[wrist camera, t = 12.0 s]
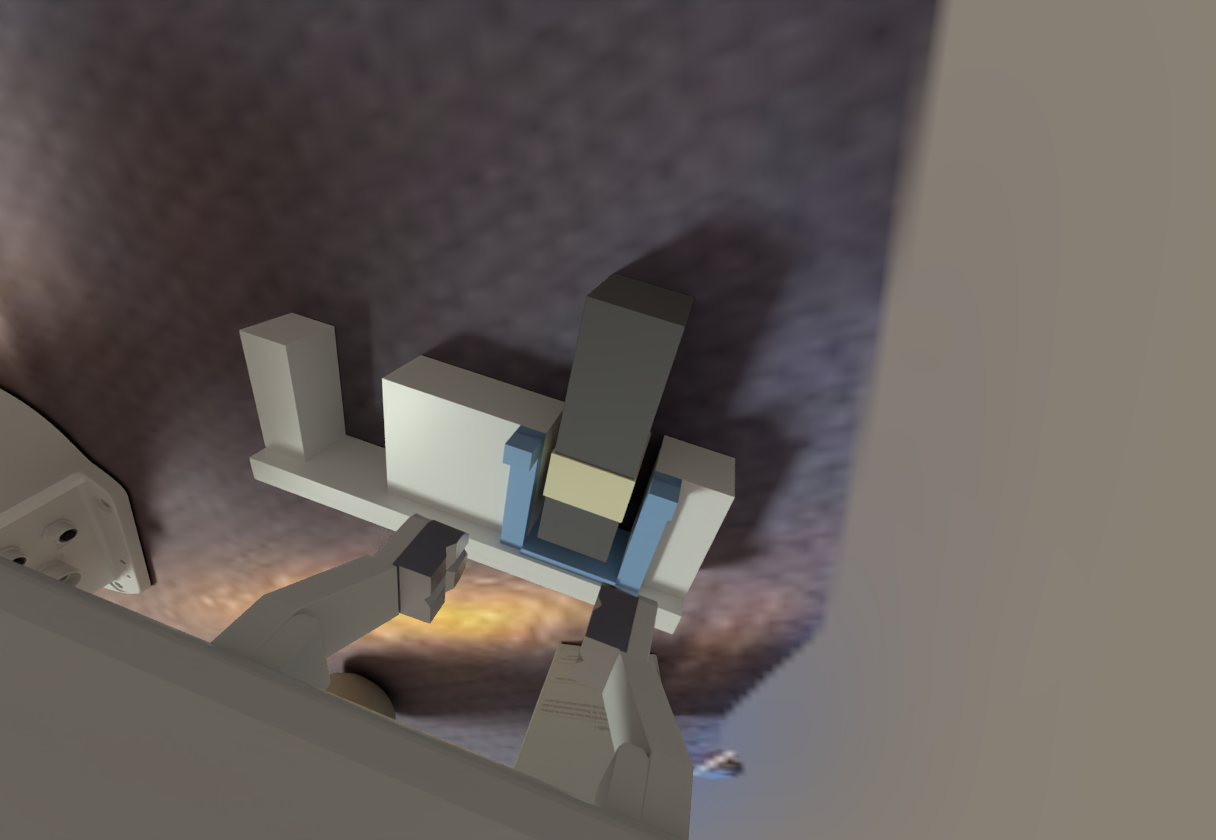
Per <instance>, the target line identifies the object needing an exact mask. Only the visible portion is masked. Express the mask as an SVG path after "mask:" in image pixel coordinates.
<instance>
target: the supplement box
mask: <svg viewBox="0 0 1216 840" xmlns="http://www.w3.org/2000/svg"><path fill="white" fill-rule="evenodd" d="M580 648H581V646H577V645H568V644H558V647H557V649H556V652H555V655H554V658H553V660H552V663H551V666H550V669H549V671H548V674H547V677H546V680H545V682H544V685H543V688H542V690H541V693H540V696H539V699H538V701H537V704H536V707H535V710H534V712H533V715H532V718H531V721H530V723H529V726H528V729H527V731H526V734H525V737H524V740H523V742H522V745H521V748H520V751H519V753H518V756H517V759H516V761H515V764H514V767H513V769H515V770H517V771H519V772H522V773H524V774H527V775H529V776H532V777H534V778H536V779H539V780H541V781H544V782H546V783H548V784H551V785H553V786H556V787H558V788H560V789H563V790H565V791H568V792H570V793H572V794H575V795H577V796H580V797H582V798H584V799H587V800H589V801H593V797H594V793H595V790H596V788H597V787H598V785H599V783H600V781H601V779H602V777H603V775H604V773H605V771H606V770H607V768H608V766H609V764H610V762H611V760H612V758H613V756H614V754H615V751H614V746H613V742H612V737H611V732H610V728H609V723H608V719H607V714H606V709H605V705H604V700H603V696H602V693H603V692H602V691H599V690H597V689H595V688H592V687H590V686H587V685H585V684H583V683H580V682H578V681H576V680H573V679H571V676H572V673H573V670H574V667H575V664H576V661H577V657H578V654H579V651H580ZM648 661H649V662H651V663H653V664H654V665H655V668H656V670H657V673H658V676H659V678H660V681H661V677H660V672H659V666H658V661H657V656H656V655H655V654H650V655H649V660H648Z"/></svg>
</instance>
